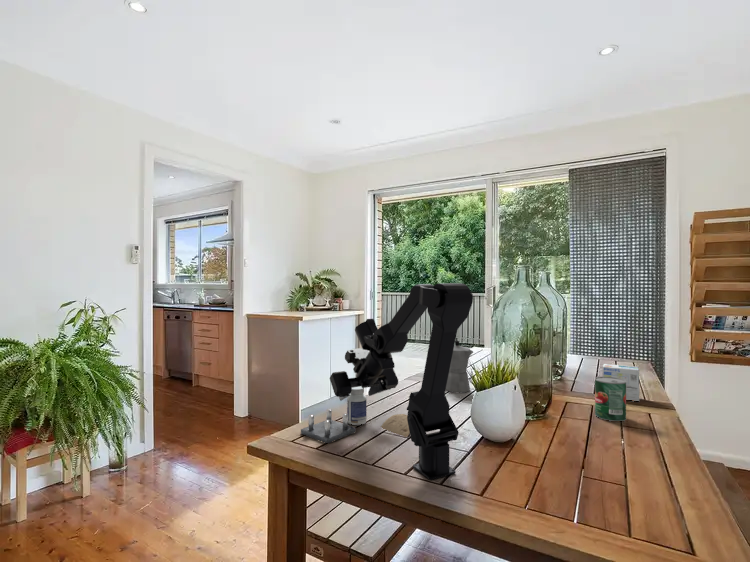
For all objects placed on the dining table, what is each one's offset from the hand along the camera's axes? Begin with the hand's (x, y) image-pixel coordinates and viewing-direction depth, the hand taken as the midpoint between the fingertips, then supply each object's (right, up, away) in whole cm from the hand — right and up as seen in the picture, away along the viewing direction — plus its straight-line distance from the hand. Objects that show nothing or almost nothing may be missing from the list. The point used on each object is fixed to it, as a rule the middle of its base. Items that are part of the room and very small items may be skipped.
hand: (354, 396), depth 114 cm
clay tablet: (+15, -8, -4) cm, 17 cm away
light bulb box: (+89, -7, +23) cm, 93 cm away
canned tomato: (+74, -7, +3) cm, 74 cm away
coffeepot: (+35, -7, +35) cm, 50 cm away
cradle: (-6, -7, -9) cm, 13 cm away
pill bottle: (+1, -7, -1) cm, 7 cm away
